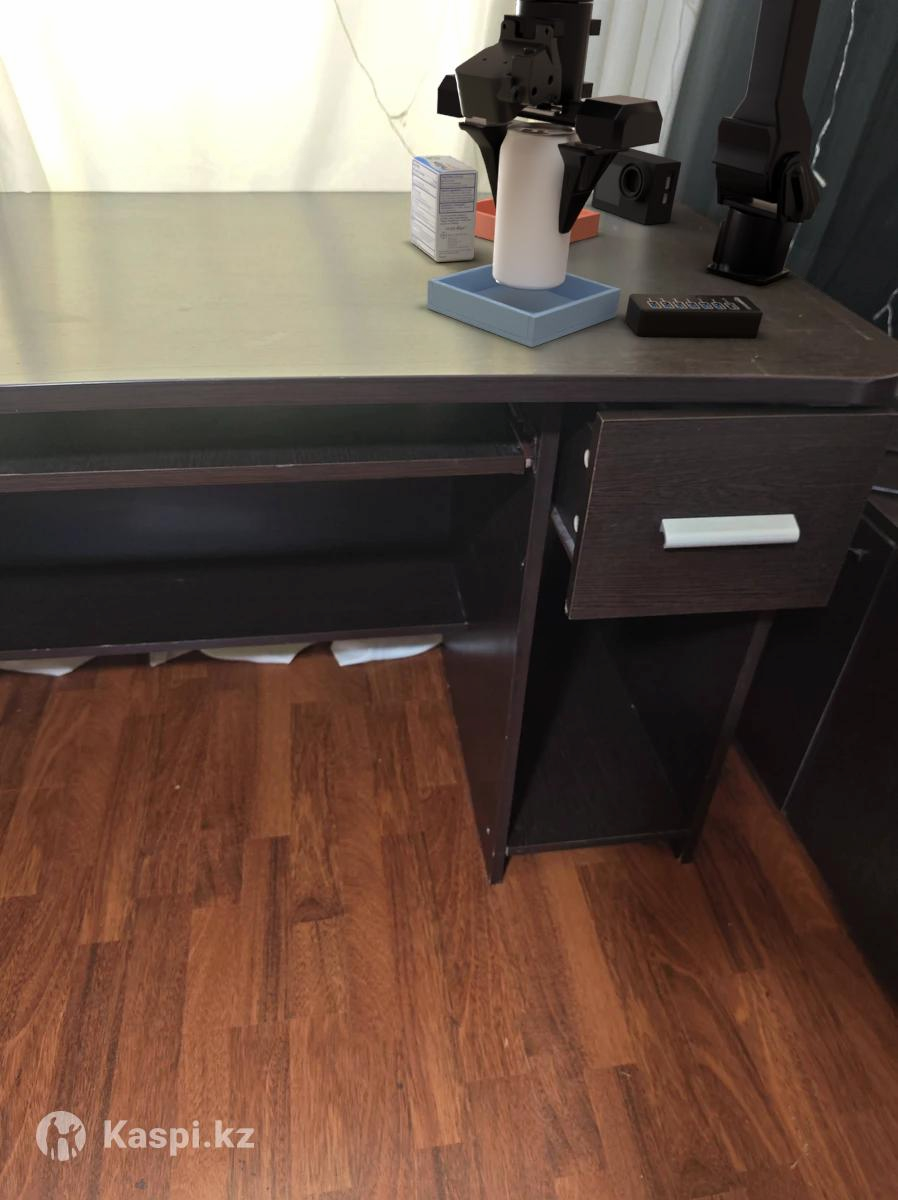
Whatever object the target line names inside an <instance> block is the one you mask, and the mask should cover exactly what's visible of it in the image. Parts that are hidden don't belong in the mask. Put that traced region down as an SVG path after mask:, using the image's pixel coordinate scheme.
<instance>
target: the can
mask: <svg viewBox="0 0 898 1200" xmlns="http://www.w3.org/2000/svg"><path fill="white" fill-rule="evenodd" d="M507 129H508V131H507V135H506V137H505V139H504V141H503V143H502V145H501V149H500V158H499V173H498V188H497V204H496V220H495V236H494V241H493V253H492V255H493V256H492V263H493V277H494V278H495V280H496V282H497V283H498V284H500V285H502V286H504V287H507V288H510V289H515V290H521V291H547V290H552V289H555V288H557V287H559V286H560V285H561V283H563V282H564V281H565V276H566V272H567V268H568V259H569V251H570V250H569V249H570V234H571V230H570V232H569V233H566V234H560V233H559V209H560V200H561V192H562V183H563V175H564V162H563V159H562V157H561V154H560V151H559V149H558V144H561V143H568V142H574V140H575V133H576V131H575V128H574V127H569V126H563V125H558V124H553V123H548V122H543V121H525V122H522V123H513V124H509V125H508V126H507Z"/></svg>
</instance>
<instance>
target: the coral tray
mask: <svg viewBox="0 0 898 1200" xmlns="http://www.w3.org/2000/svg"><path fill="white" fill-rule="evenodd" d="M600 219H601V212H597V211H594V210H590V209H586V208H583V209H582V211H581V212H580V214H579V216H578V218H577V220H576V221H575V223H574V225H573V227H572V228H571V234H570V243H575V242H578V241H583V240H586V239H590V238H593V237H598V233H599V232H598V231H599V226H600ZM495 220H496V209H495V205H494V200H493V197H490V198H489V197H488V198H485V199H480V200H477V205H476V225H475V237H478V238H481V239H485V240H488V241H491V242H494V236H495ZM570 243H569V244H570Z"/></svg>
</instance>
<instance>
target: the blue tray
mask: <svg viewBox="0 0 898 1200" xmlns="http://www.w3.org/2000/svg"><path fill="white" fill-rule="evenodd" d="M621 291H622V289H621V288H619V287H615V286H613V285H609V284H606V283H603V282H599V281H596V280H593V279H590V278H586V277H584V276H580V275H577V274H574V273H570V272H567V271H566V276H565V281H564V282H563V283H561V285H560V286H559V287H557V288H555V289H552V290H547V291H521V290H515V289H510V288H507V287H504V286H502V285H500V284H498V283H497V282H496V280H495V278H494V277H493V262H492V263H488V264H484V265H480V266H477V267H474V268H469V269H465V270H462V271H457V272H454V273H449V274H445V275H442V276H439V277H434V278H431V279H428V280H427V298H426V309H428V310H431V311H434V312H436V313H439V314H440V315H441V314H442V315H443V316H446V317H449V318H452V319H455V320H457V321H460V322H463V323H465V324H468V325H470V326H473V327H476V328H479V329H481V330H484V331H486V332H489V333H491V334H494V335H497V336H499V337H501V338H505V339H507V340H510V341H513V342H516V343H517V344H520V345H523V346H526V347H529V348H535V347H537V346H540V345H544V344H545V343H549V342H552V341H554V340H557V339H560V338H562V337H564V336H568V335H571V334H573V333H576V332H578V331H582V330H584V329H586V328H589V327H592V326H595V325H597V324H601V323H603V322H607V321H608V320H611V319H615V318H616V317H617V314H618V308H619V303H620V297H621Z"/></svg>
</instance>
